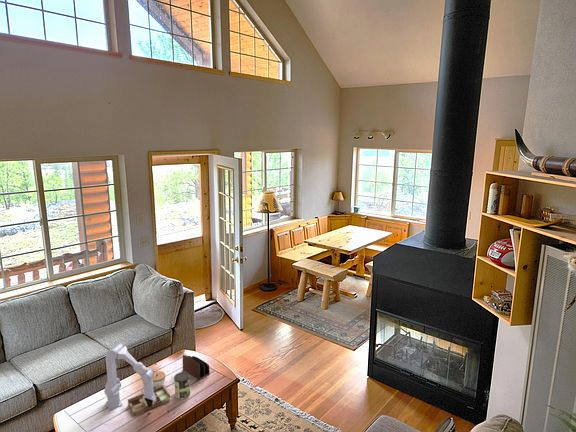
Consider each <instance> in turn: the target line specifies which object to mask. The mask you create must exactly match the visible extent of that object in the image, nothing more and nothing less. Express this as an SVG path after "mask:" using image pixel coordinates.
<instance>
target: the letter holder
mask: <svg viewBox="0 0 576 432" xmlns="http://www.w3.org/2000/svg"><path fill="white" fill-rule="evenodd" d="M210 370H211V369H210V365H209V363H207V362H205V361H204V360H202V359H201V358H199V357H197V356H194V355H192V356H191V355H186V354H182V372H187V373H189V375H190V376H192V377H193V378H195V379H197V380H198V381H201V380H202V379H204V378H206V377H208V376H209V375H210V374H211V373H210V372H211V371H210Z"/></svg>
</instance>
